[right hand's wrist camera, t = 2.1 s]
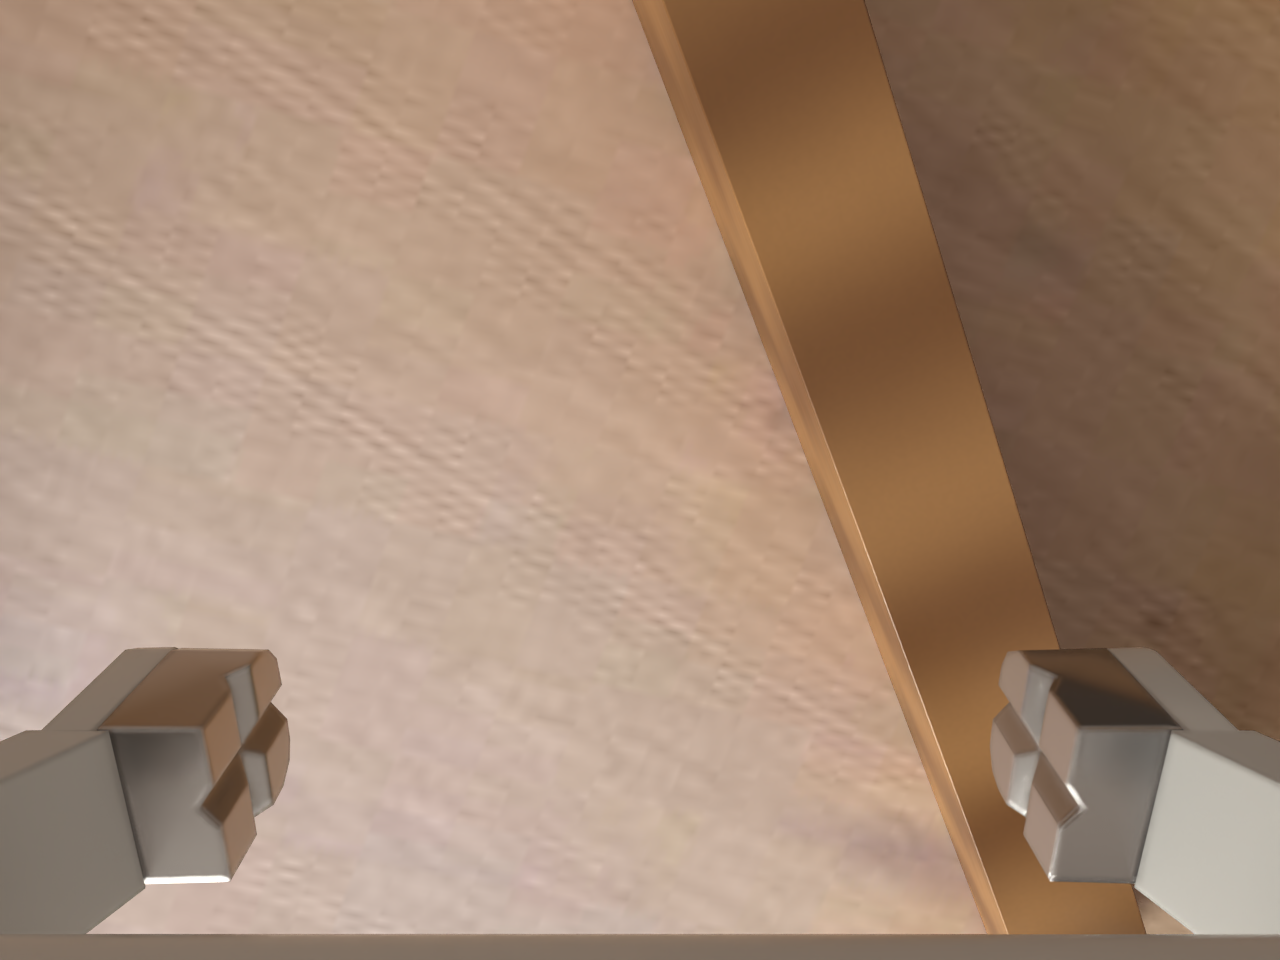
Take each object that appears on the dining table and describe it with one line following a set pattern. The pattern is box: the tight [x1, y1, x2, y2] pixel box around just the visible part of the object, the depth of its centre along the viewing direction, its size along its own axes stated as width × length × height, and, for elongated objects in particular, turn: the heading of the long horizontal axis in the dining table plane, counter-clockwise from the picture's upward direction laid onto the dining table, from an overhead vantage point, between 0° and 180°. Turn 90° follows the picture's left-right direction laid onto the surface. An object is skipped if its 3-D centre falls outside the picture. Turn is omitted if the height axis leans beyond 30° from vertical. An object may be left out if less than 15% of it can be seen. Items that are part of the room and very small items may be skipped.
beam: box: [632, 0, 1146, 934], centre depth 33 cm, size 53×5×9 cm, turn 23°
